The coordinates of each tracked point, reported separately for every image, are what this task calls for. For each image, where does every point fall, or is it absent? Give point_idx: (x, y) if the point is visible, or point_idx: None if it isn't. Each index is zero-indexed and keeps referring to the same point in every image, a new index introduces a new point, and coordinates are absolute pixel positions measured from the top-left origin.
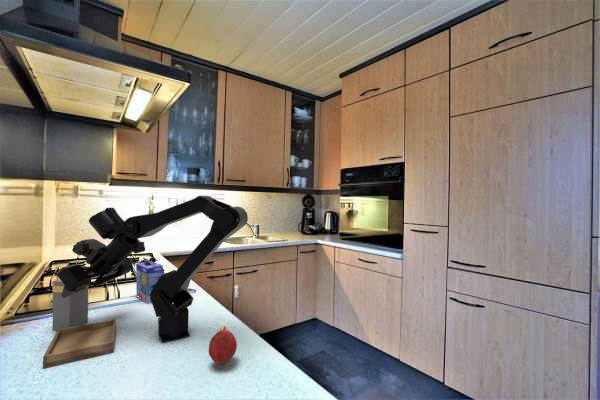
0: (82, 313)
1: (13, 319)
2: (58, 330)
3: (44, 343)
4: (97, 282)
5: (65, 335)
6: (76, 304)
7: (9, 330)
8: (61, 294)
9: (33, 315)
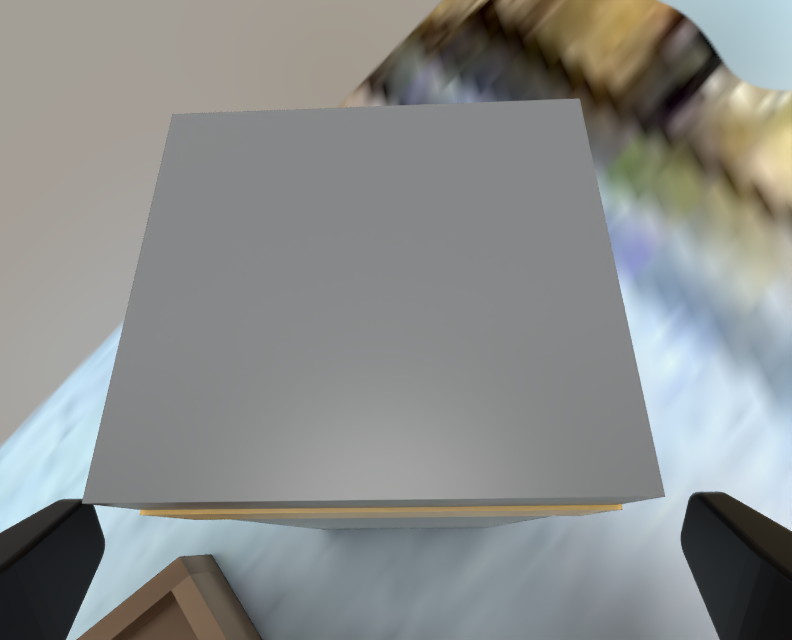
0: (438, 525)
1: (424, 55)
2: (158, 583)
3: (152, 517)
4: (751, 619)
5: (192, 629)
6: (359, 522)
7: None
8: (41, 514)
9: (490, 90)
